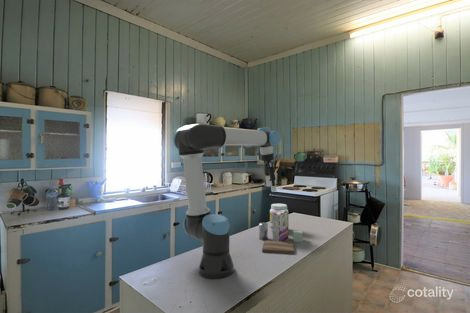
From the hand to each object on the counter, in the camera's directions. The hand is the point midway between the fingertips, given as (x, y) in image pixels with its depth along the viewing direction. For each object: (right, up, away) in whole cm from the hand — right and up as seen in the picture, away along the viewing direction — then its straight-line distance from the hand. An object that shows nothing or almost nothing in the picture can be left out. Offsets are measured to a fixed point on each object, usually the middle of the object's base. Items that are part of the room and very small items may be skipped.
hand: (271, 188), depth 153 cm
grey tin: (-5, -30, 0) cm, 30 cm away
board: (+1, -30, -16) cm, 34 cm away
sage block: (+15, -30, -4) cm, 34 cm away
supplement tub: (+7, -30, +16) cm, 35 cm away
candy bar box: (+5, -30, -2) cm, 31 cm away
